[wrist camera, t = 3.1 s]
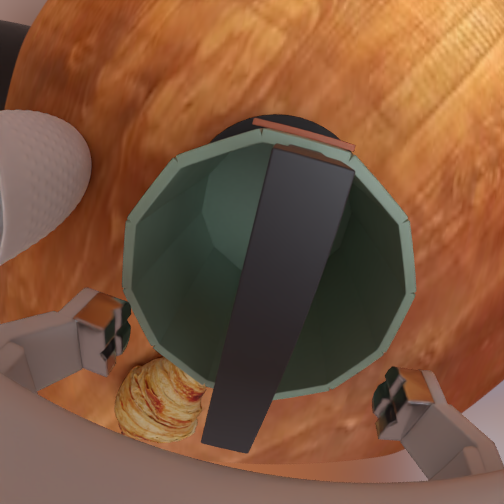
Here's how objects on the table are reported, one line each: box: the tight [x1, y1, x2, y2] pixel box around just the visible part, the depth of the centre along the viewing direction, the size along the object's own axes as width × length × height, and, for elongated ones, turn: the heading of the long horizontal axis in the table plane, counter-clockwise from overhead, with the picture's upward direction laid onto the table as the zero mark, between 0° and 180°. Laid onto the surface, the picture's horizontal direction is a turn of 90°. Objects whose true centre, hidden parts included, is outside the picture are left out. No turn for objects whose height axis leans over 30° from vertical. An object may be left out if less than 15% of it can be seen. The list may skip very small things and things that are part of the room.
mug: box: [0, 109, 92, 265], centre depth 20 cm, size 15×11×13 cm
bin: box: [122, 118, 416, 453], centre depth 17 cm, size 12×12×17 cm
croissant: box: [115, 357, 206, 443], centre depth 33 cm, size 21×10×8 cm, turn 143°
